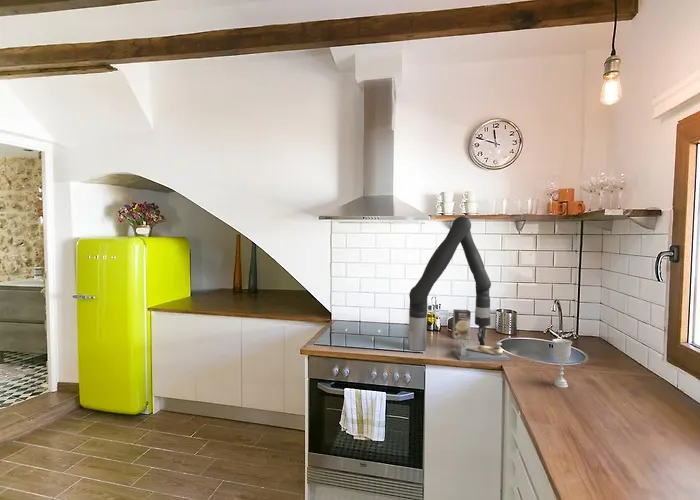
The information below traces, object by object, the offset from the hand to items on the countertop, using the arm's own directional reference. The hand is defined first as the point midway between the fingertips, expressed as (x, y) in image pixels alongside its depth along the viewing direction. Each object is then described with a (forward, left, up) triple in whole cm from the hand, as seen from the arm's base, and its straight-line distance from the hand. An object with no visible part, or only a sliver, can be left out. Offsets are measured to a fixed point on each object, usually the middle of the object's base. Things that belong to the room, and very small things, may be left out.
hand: (482, 348), depth 199 cm
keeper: (-10, -8, -2) cm, 13 cm away
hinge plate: (-3, -5, -2) cm, 6 cm away
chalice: (+17, -42, -2) cm, 45 cm away
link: (-1, -4, 0) cm, 4 cm away
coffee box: (-2, +29, -2) cm, 29 cm away
